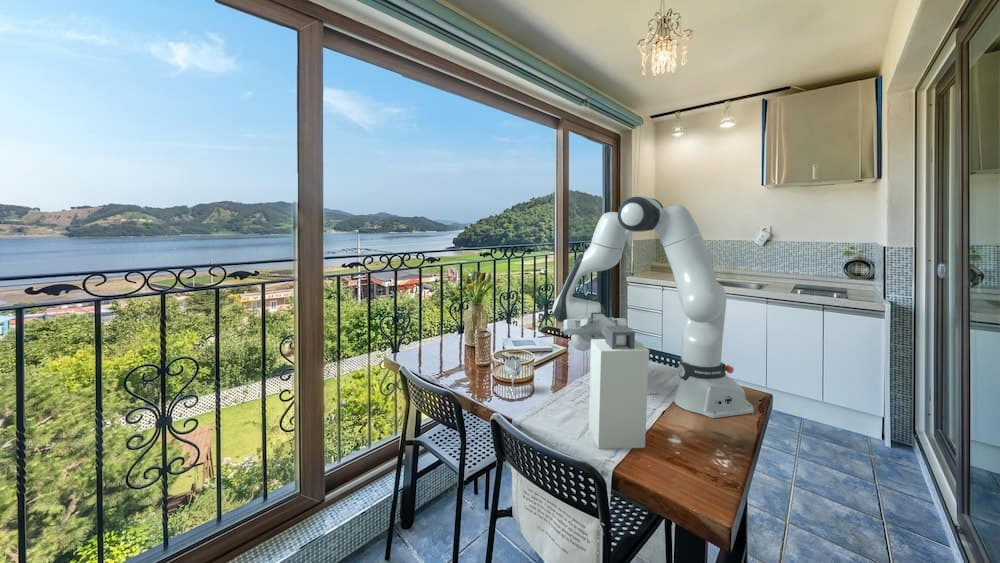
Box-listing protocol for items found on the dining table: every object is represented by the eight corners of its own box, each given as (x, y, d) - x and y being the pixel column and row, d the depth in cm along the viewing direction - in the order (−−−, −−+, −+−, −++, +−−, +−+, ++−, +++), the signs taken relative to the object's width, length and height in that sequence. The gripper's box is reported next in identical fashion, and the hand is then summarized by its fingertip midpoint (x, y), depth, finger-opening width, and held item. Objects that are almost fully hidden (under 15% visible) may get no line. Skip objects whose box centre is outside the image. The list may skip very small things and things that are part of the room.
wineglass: (519, 395, 133) (519, 361, 131) (503, 394, 134) (502, 360, 132) (522, 388, 138) (522, 355, 136) (506, 387, 139) (505, 355, 138)
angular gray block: (601, 322, 125) (601, 312, 124) (626, 345, 101) (627, 333, 101) (590, 322, 125) (591, 312, 124) (614, 346, 101) (614, 334, 100)
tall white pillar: (631, 427, 111) (635, 323, 107) (644, 447, 102) (650, 333, 97) (588, 428, 111) (591, 323, 107) (598, 448, 101) (601, 334, 97)
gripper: (558, 322, 134) (565, 310, 121) (618, 321, 134) (631, 309, 121) (559, 340, 131) (566, 330, 118) (621, 339, 132) (634, 329, 119)
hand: (600, 319), depth 120 cm, fingers open, 5 cm apart
